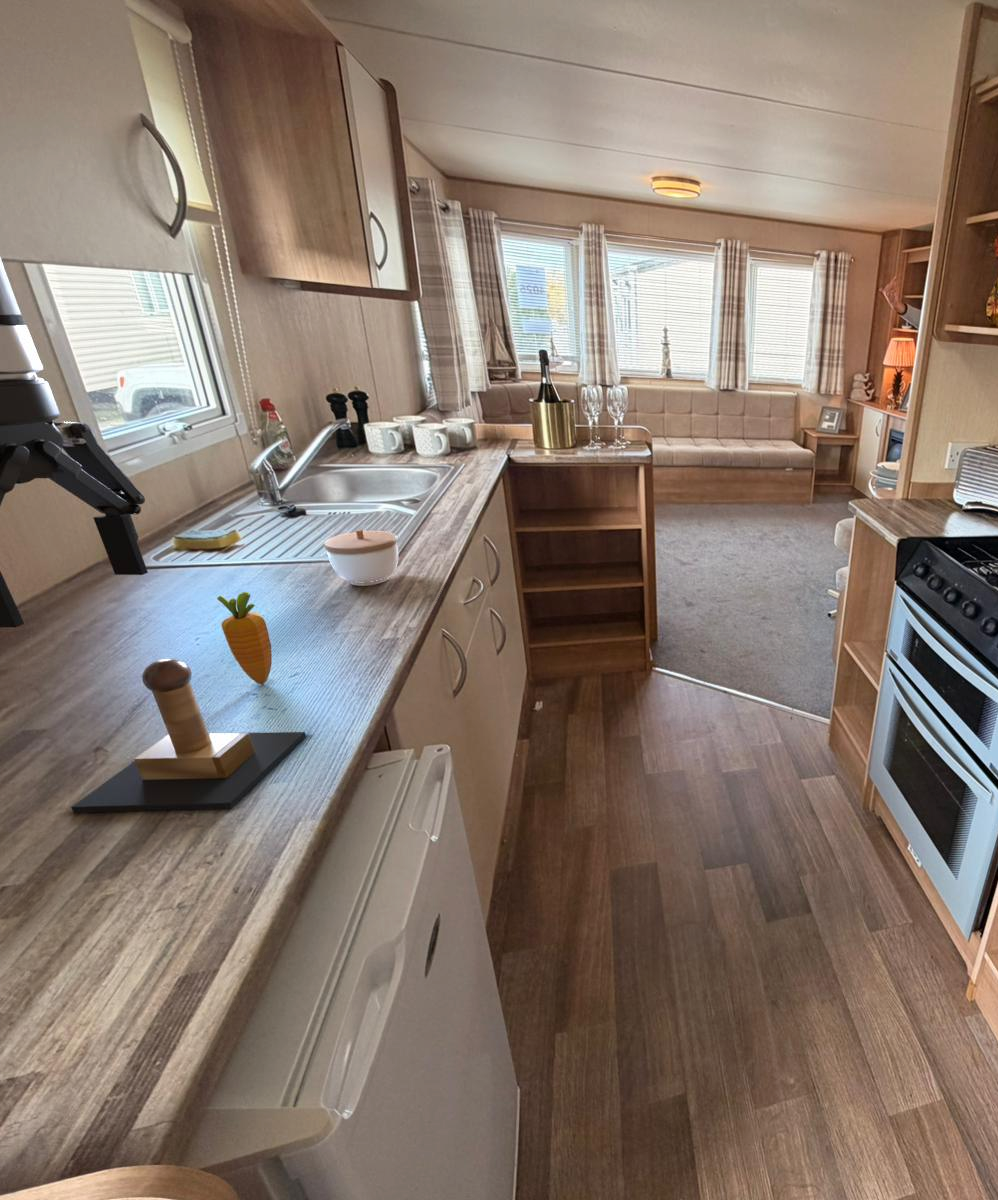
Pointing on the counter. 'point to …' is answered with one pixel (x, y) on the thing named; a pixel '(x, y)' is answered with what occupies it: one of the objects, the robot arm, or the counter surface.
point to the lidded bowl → (363, 556)
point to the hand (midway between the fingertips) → (74, 597)
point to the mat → (191, 782)
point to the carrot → (248, 638)
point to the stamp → (186, 731)
